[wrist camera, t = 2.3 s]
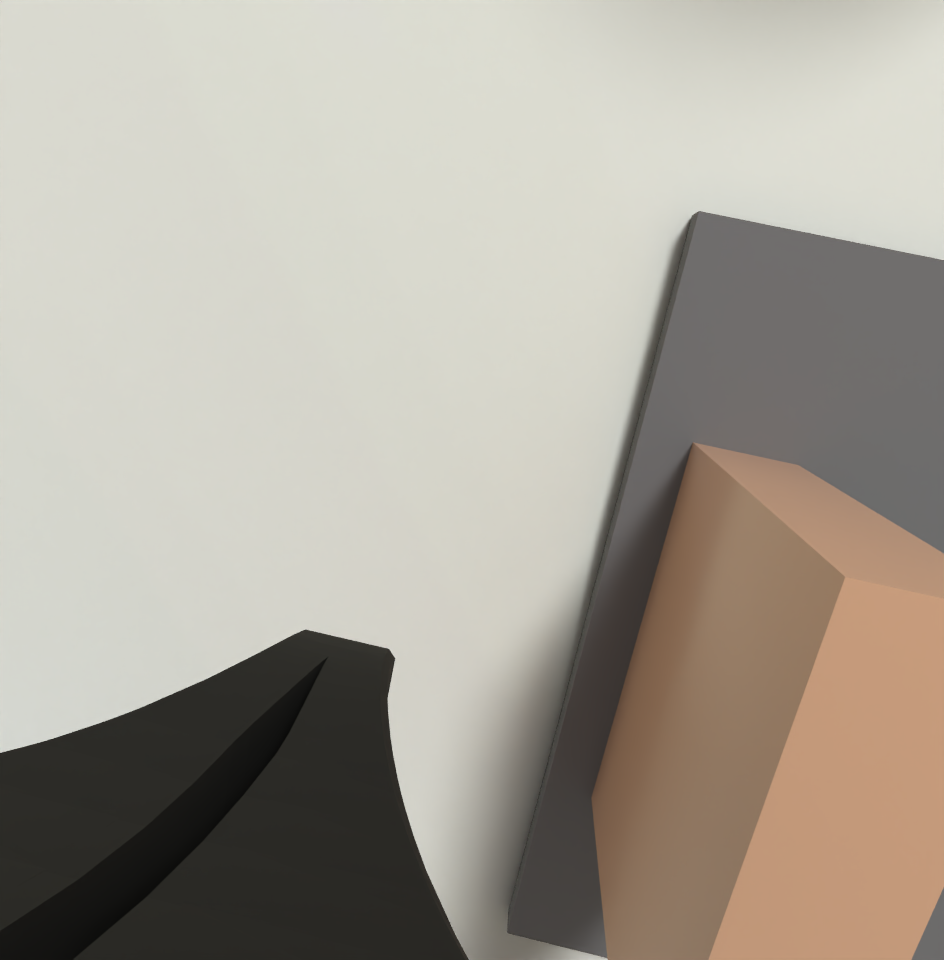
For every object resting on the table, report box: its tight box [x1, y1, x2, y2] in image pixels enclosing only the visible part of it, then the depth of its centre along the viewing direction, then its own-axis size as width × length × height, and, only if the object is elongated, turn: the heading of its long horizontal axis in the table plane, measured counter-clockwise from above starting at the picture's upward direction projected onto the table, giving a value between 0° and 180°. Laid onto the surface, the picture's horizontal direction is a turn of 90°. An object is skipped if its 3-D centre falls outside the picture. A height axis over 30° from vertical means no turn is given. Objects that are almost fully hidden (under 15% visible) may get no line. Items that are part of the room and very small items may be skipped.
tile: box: [591, 442, 944, 960], centre depth 11 cm, size 8×2×7 cm, turn 168°
